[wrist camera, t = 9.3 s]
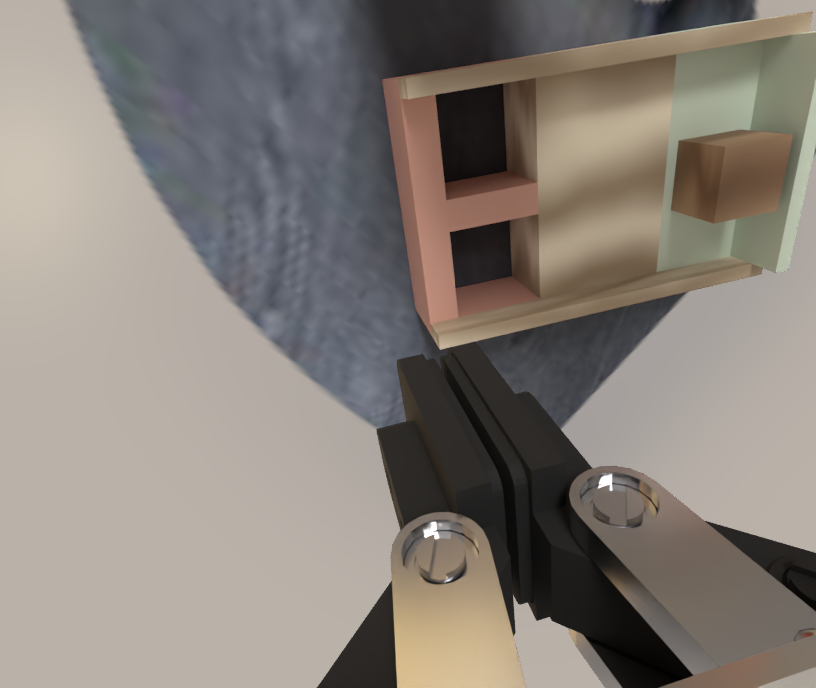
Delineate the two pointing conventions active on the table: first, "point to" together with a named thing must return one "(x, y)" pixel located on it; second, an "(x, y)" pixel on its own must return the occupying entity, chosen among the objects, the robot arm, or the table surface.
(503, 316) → the box
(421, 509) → the robot arm
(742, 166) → the walnut block
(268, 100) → the table surface
